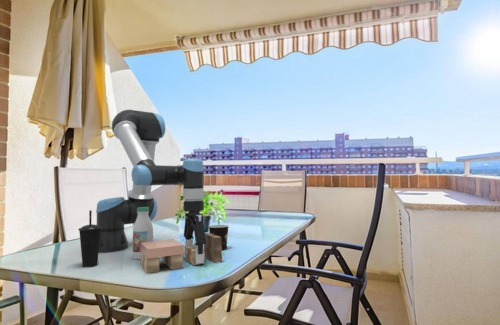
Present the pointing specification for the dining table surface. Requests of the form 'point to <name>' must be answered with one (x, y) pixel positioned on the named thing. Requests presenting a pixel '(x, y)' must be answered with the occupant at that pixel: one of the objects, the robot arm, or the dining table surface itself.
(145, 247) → the slab
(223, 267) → the dining table surface
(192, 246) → the batten
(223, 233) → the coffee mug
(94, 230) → the drinking cup
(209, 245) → the brown wooden board
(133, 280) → the dining table surface
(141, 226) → the milk bottle
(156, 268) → the batten rear
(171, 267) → the block
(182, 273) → the dining table surface
